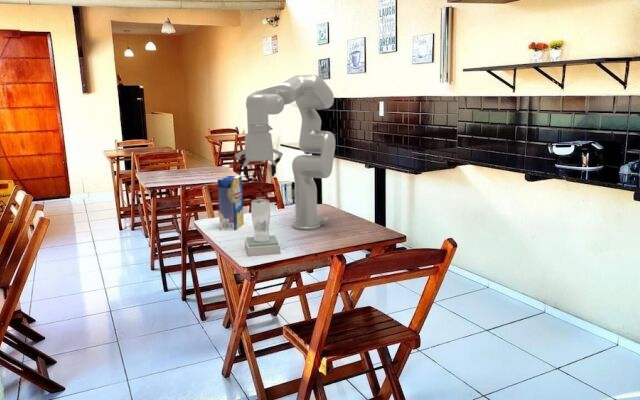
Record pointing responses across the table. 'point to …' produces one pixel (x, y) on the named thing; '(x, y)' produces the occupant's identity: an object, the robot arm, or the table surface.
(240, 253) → the table surface
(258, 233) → the beer glass
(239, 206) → the beverage box
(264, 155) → the robot arm
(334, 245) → the table surface
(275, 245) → the base
